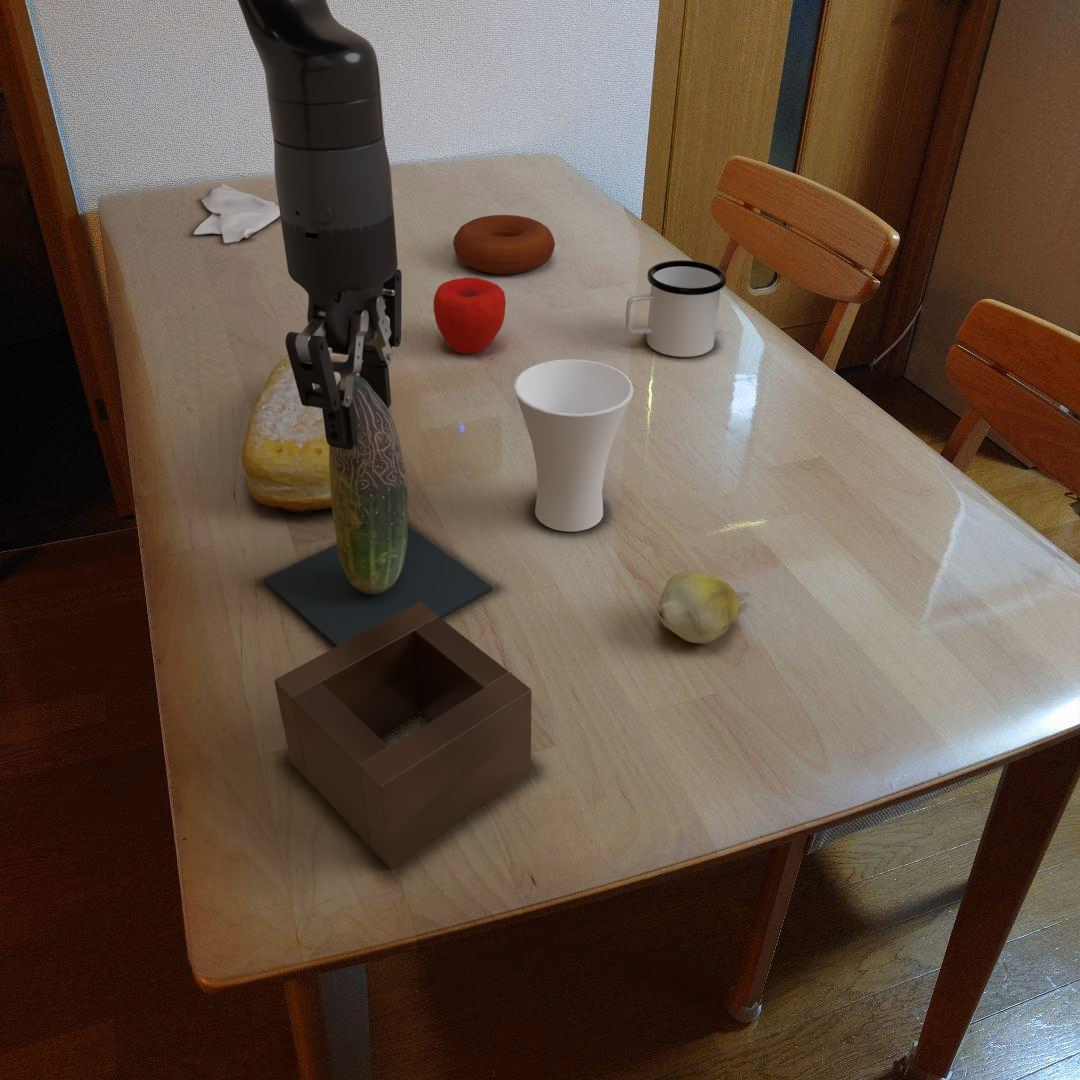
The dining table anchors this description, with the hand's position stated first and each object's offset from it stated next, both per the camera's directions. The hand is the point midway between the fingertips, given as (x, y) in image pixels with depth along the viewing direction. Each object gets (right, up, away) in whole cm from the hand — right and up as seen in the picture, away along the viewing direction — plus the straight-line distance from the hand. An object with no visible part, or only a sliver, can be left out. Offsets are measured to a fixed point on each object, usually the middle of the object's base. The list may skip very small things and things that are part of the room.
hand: (360, 425), depth 77 cm
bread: (-9, 0, +27) cm, 29 cm away
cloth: (-35, +44, +86) cm, 102 cm away
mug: (+30, +15, +49) cm, 59 cm away
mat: (0, -13, +9) cm, 16 cm away
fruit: (+27, -16, +6) cm, 32 cm away
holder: (+5, -25, -7) cm, 26 cm away
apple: (+5, +15, +48) cm, 50 cm away
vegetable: (0, -13, +9) cm, 16 cm away
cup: (+17, -6, +19) cm, 26 cm away
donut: (+9, +32, +71) cm, 78 cm away
